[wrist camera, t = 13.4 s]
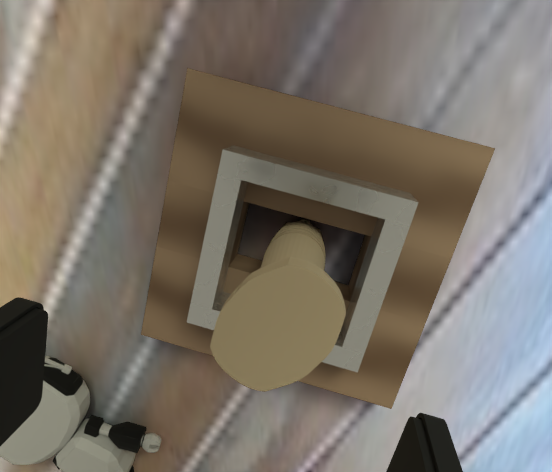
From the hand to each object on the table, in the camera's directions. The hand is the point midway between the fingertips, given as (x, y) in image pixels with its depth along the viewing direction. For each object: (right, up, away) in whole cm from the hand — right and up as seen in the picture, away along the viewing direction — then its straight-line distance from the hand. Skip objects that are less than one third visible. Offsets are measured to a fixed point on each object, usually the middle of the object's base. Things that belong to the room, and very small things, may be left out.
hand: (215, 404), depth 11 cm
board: (+3, +4, +23) cm, 23 cm away
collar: (+3, +3, +20) cm, 20 cm away
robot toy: (-17, -12, +30) cm, 37 cm away
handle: (+3, +4, +23) cm, 23 cm away
